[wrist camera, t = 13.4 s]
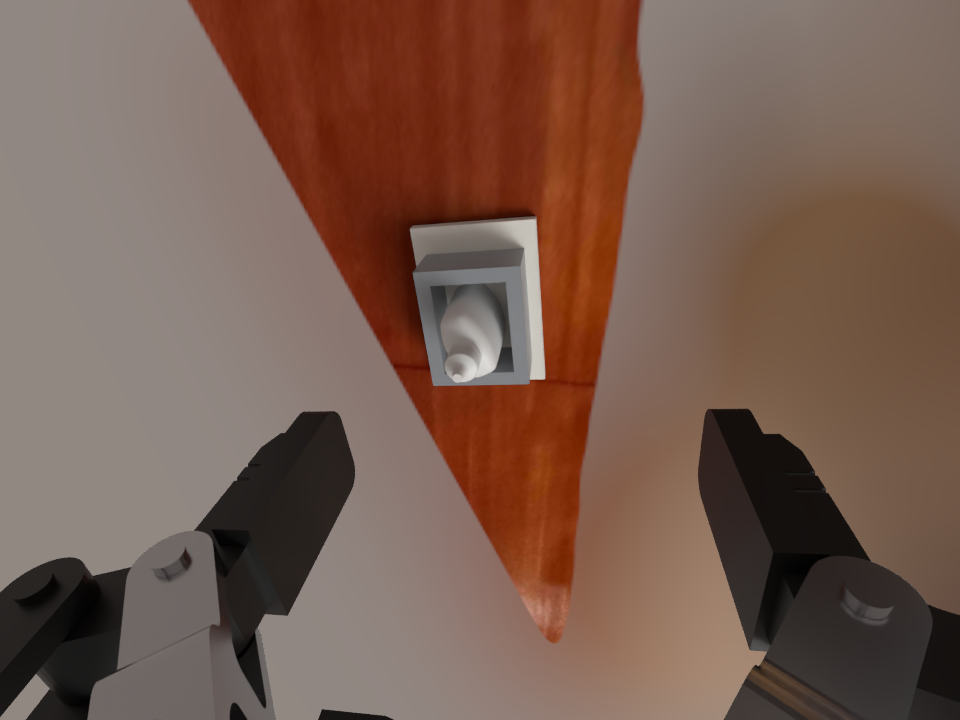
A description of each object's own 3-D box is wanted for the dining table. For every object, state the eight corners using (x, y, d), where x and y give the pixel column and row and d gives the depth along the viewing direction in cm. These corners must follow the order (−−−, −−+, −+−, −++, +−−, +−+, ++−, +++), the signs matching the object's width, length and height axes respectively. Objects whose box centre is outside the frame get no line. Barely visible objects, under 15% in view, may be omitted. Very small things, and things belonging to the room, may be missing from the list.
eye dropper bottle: (458, 335, 47) (428, 409, 36) (456, 277, 44) (423, 340, 34) (506, 337, 46) (489, 414, 36) (506, 278, 43) (488, 343, 33)
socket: (412, 225, 43) (394, 244, 39) (536, 216, 41) (532, 234, 37) (438, 376, 50) (425, 407, 46) (545, 373, 49) (543, 406, 44)
